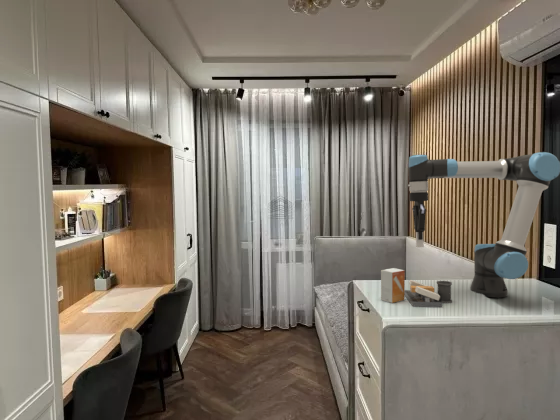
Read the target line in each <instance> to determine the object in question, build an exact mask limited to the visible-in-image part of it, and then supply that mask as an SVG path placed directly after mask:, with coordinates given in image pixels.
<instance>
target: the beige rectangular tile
mask: <svg viewBox="0 0 560 420" xmlns="http://www.w3.org/2000/svg"><path fill="white" fill-rule="evenodd" d="M415 291H416V292H417V293H419V294H422V295H424V296H427V297H430V298H433V299H435V300H438V301H439V298H440V295H439V294H438V292H437V293H436V292H435V291H434V292H431V291H429V290H426V289H423V288H420V287H418V286H416V289H415Z"/></svg>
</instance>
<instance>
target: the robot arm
mask: <svg viewBox="0 0 560 420" xmlns="http://www.w3.org/2000/svg"><path fill="white" fill-rule="evenodd" d="M559 175H560V160H559V159H558V158H557V156H556V155H554V153H553V154H552V153H550V152H545V151H542V152H541V151H540V152H539V151H538V152H535V153H530V154H524V155H519V156H515V157H508V158H500V159H498V160H485V161H484V160H483V161H482V160H481V161H480V160H477V161H476V160H475V161H472V160H471V161H470V160H469V161H457V160H456V159H454V158H443V159H442V158H440V159H429V158H428V155H426V154H416V155H411V156H409V157H408V179H409V180H408V182H409V183H408V184H407V187H408V188H409V189H408V190H409V195H408V196H409V202H413V203H414V204H413V206H412V209H411V210H412V217H413V226H414V228H413V229H414V231H415V232H414V233H415V247H416V248H424V244H425V243H424V242H425V241H424V232H425V231H426V213H427V208H426V205H425V203H424V202H427V201H429V180H430V179H431V180H432V179H478V178H479V179H489V178H490V179H493V178H494V179H498V180H499V181H512V182H513V181H515V182H516V184H517V186H518V187H517V191H516V193H515V196H514V199H513V202H512V206H511V209H510V211H509V215H508V217H507V220H506V224H505V228H504V230H503V233H502V235H501V239H500V240H498V241H496V242H495V243H477V244H476V245H474V251H473V252H474V260H473V261H474V265H473V266H474V274H473V275H474V276H473V278H472V280H471V284H470V287H469V290H470V291H471V292H472V293H473V292H474V293H475V294H481V295H483V296H484V297H487V298H505V297H508V294H509V292H508V291H509V290H508V288H507V285H506V281H505V279H509V280H516V279H519V278H521V277H522V276H524V275H525V274H526V272H527V271H528V268H529V261H528V259H527V257H526V256H527V252H528V250H527V249H526V247H525V245H526V241H527V239H528V237H529V236H528V235H529V233H530V229H531V227H532V223H533V221H534V217H535V215H536V211H537V208H538V205H539V203H540V200H541V196H542V193H543V191H545V190H547V189H548V188H549V186H550V183H551V181H552V180H554V179H556V178H557V177H559ZM427 191H428V192H427Z"/></svg>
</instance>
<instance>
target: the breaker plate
mask: <svg viewBox="0 0 560 420" xmlns="http://www.w3.org/2000/svg"><path fill="white" fill-rule="evenodd" d="M404 292H405V293H404V298H406V300H407V301H408V302H409V303H410V305H411V306H412V307H413V308H415V307H416V308H418V307H419V308H443V303H442V302H441V301H440V300H439V301H438V300H435V299H433V298H430V297H427V296H424V295H422V294H419V293H417V292H411V291H410V289H409V290H406V289H405V291H404Z"/></svg>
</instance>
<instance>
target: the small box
mask: <svg viewBox="0 0 560 420" xmlns="http://www.w3.org/2000/svg"><path fill="white" fill-rule="evenodd" d="M405 272H406V270H405V269H399V268H396V267H392V268H386V269H381V270H380V300H381V301H384V302H387V303H391V304H393V303H397V302H402V301H405V295H404V293H405V292H404V291H405V290H406V289H405V288H406V287H405V280H406V279H405V277H406V276H405V275H406V273H405Z"/></svg>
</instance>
